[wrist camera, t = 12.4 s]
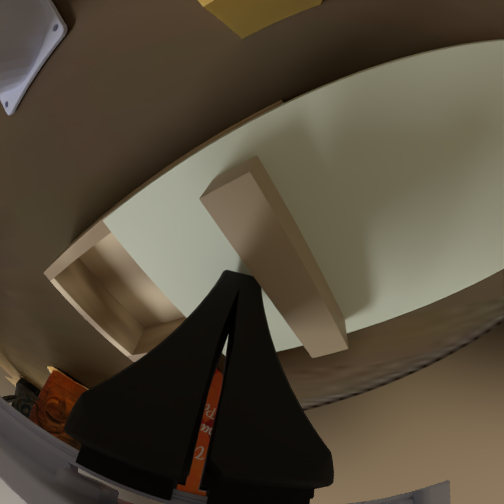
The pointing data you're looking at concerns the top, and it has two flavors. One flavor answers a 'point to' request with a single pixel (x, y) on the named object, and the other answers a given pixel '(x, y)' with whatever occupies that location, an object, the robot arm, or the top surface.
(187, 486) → the paper cup
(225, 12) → the yellow block
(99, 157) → the top surface
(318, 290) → the lid
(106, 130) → the top surface
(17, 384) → the beer stein
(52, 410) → the vessel
